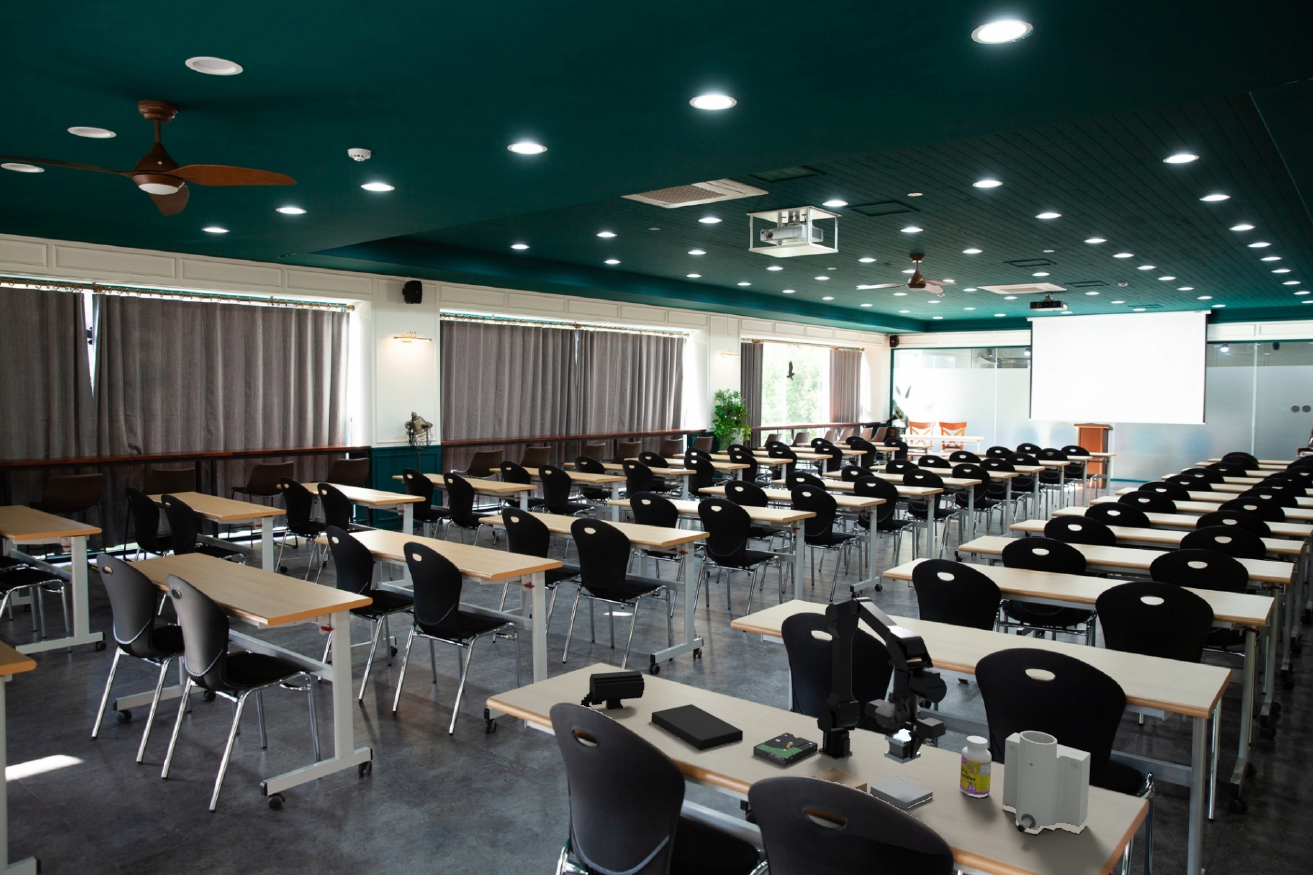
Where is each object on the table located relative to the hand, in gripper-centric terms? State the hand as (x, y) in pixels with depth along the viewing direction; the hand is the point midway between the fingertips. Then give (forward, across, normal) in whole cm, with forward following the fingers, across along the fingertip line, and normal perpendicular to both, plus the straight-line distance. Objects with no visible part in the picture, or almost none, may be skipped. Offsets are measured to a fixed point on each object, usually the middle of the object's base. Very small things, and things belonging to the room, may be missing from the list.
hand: (902, 754), depth 199 cm
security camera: (+10, -83, -24) cm, 88 cm away
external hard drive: (+11, -57, -15) cm, 60 cm away
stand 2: (+10, 0, 0) cm, 10 cm away
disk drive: (+11, -32, -5) cm, 34 cm away
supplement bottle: (+10, +9, +16) cm, 21 cm away
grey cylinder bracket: (+10, +26, +12) cm, 30 cm away
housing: (0, 0, 0) cm, 1 cm away
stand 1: (+10, -11, -9) cm, 17 cm away
